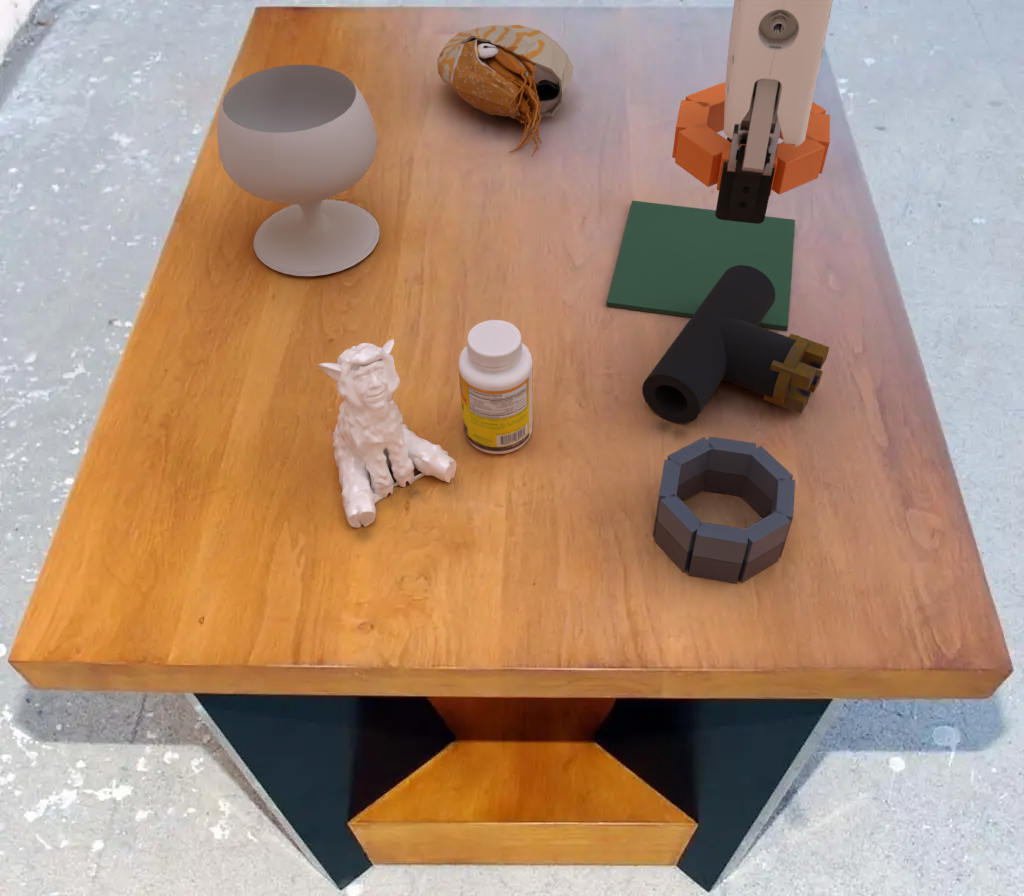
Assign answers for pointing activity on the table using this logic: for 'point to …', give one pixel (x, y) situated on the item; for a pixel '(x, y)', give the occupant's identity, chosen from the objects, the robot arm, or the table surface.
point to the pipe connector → (733, 353)
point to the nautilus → (508, 73)
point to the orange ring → (709, 150)
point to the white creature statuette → (376, 433)
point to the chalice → (301, 164)
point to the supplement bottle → (496, 388)
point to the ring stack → (728, 473)
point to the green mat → (697, 259)
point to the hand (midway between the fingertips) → (740, 204)
